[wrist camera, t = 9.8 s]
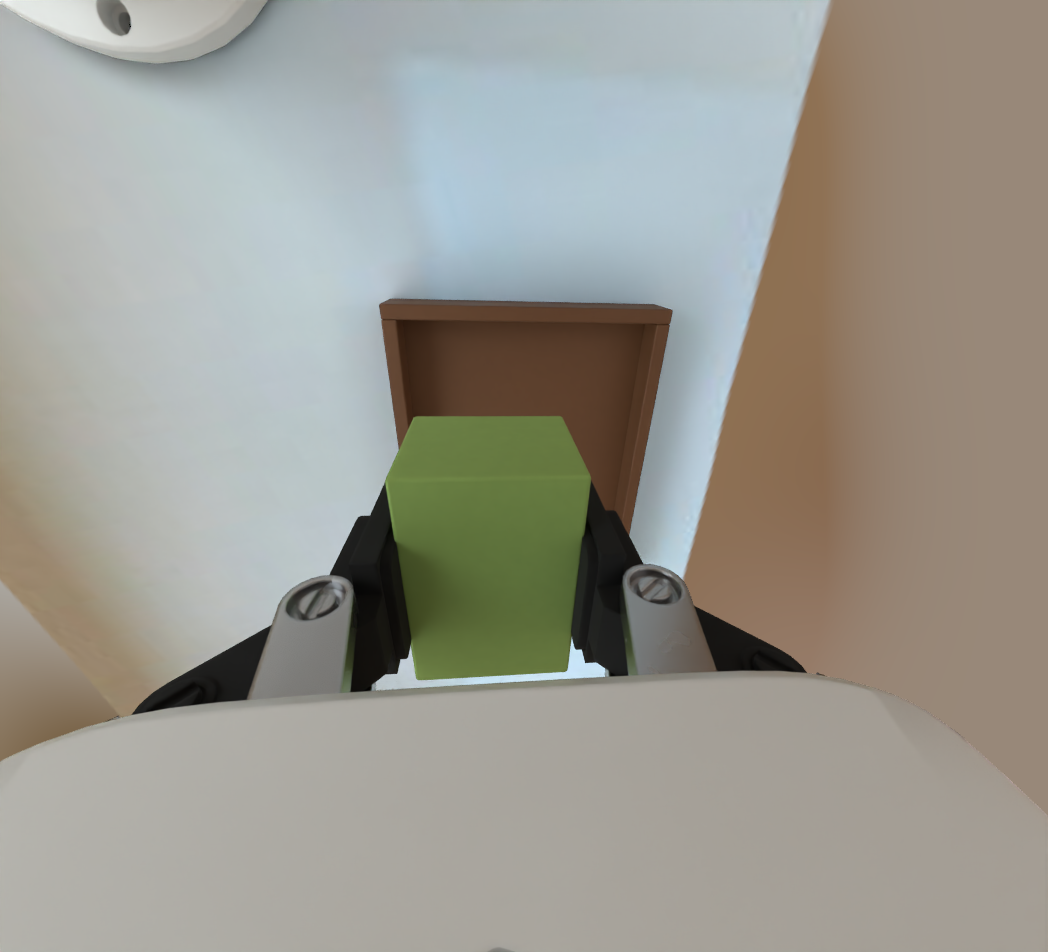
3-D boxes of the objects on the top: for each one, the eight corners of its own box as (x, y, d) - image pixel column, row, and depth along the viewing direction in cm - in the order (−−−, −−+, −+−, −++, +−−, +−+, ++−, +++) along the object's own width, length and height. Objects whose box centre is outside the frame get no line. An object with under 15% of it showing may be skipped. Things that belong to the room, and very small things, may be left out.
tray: (389, 298, 18) (378, 303, 16) (654, 304, 19) (673, 309, 17) (425, 585, 26) (420, 610, 24) (607, 577, 27) (616, 601, 25)
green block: (413, 415, 11) (383, 479, 7) (562, 415, 11) (592, 476, 8) (431, 585, 13) (415, 681, 10) (549, 580, 14) (567, 673, 11)
